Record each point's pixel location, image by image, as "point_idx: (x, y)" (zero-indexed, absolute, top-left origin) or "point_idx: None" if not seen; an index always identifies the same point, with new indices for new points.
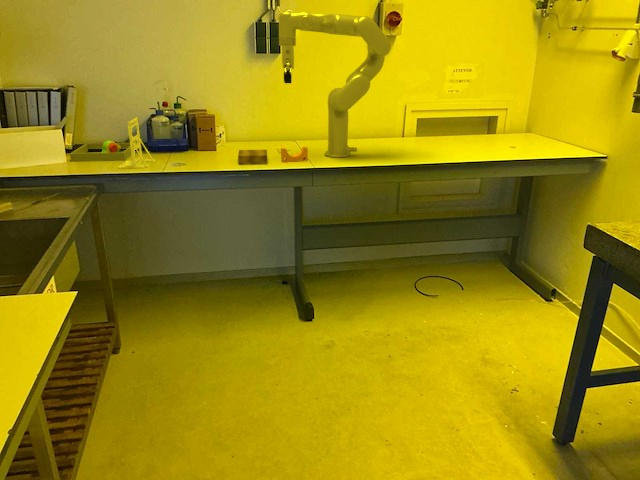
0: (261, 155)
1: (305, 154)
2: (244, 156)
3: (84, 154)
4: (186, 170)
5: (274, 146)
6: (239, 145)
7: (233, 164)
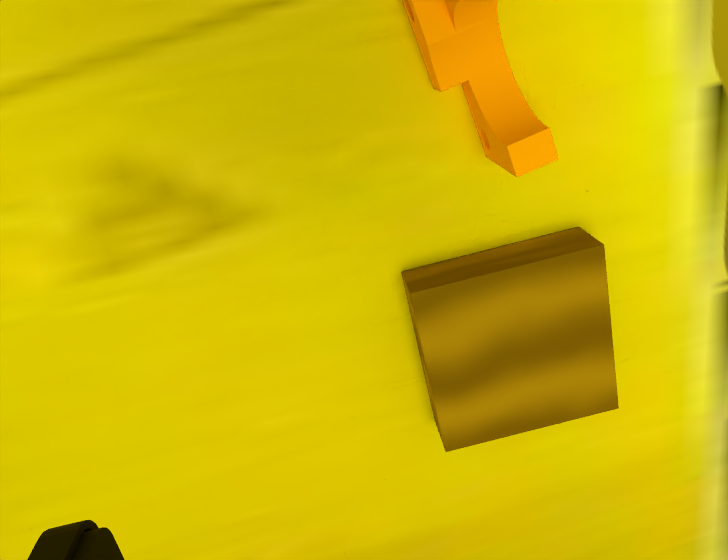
0: (604, 280)
1: None
2: (614, 373)
3: None
4: (708, 554)
5: (3, 312)
6: None
7: None
